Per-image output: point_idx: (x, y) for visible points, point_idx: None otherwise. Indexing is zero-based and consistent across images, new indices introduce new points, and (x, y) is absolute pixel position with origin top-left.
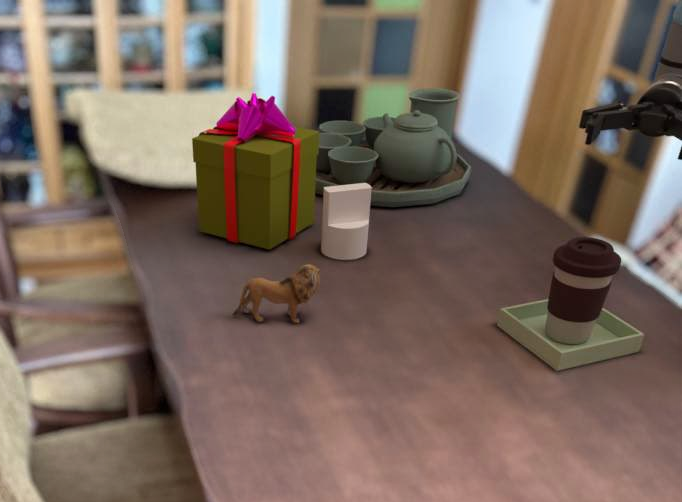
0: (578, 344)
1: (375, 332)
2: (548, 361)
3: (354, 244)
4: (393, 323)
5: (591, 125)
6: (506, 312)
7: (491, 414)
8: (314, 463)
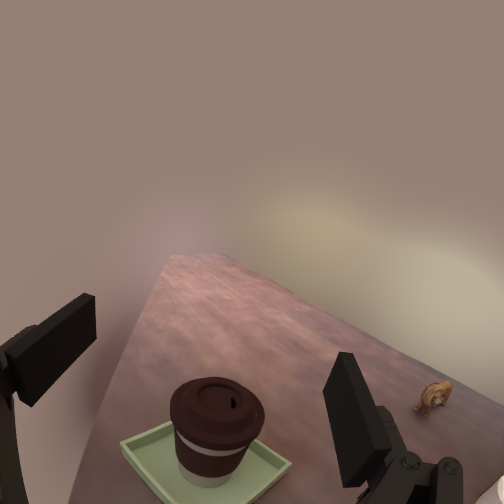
0: None
1: None
2: None
3: (485, 496)
4: None
5: (348, 353)
6: (282, 457)
7: (244, 362)
8: (307, 324)
